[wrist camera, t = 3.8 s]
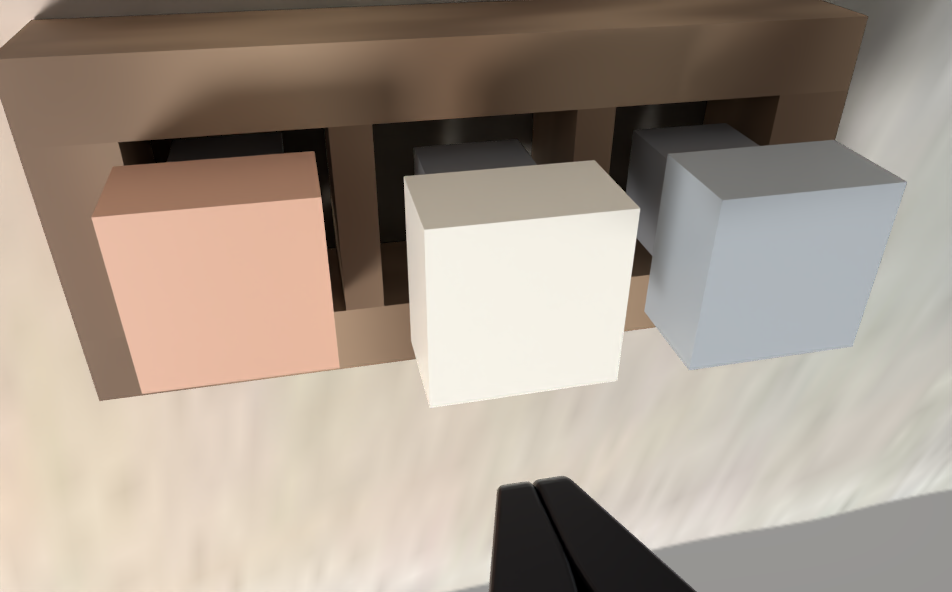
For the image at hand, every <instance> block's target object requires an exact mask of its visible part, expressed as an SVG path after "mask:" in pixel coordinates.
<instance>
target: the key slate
mask: <svg viewBox="0 0 952 592" xmlns="http://www.w3.org/2000/svg"><path fill="white" fill-rule="evenodd" d="M906 184H907V182H906V181H905V180H903V179H901V178H899V177H898V176H896V175H894V174H893V173H891V172H889V171H887V170H886V169H884V168H882V167H880V166H879V165H877V164H875V163H873V162H872V161H870V160H868V159H867V158H865V157H863V156H861V155H860V154H858V153H856V152H854V151H853V150H851V149H849V148H848V147H846V146H844V145H842V144H841V143H839V142H837V141H835V140H825V141H814V142H802V143H790V144H778V145H766V146H759V145H758V144H756V143H755V142H753V141H752V140H750V139H749V138H747V137H746V136H745V135H743V134H742V133H740V132H739V131H737V130H736V129H734V128H733V127H731V126H730V125H728V124H727V123H719V124H706V125H693V126H681V127H668V128H655V129H642V130H633V137H632V146H631V154H630V162H629V170H628V178H627V187H626V194H627V195H628V196H629V197H630V198H631V199H632V200H633V201H634V202H635V203H636V204H637V205H638V206H639V208H640V215H639V222H638V229H637V237H636V238H637V239H638V240H639V241H640V243H641V244H642V245H643V246H644V247H645V248H646V249H647V251H648V252H649V253H650V254H651V255H652V263H651V270H650V276H649V283H648V290H647V296H646V303H645V310H644V312H645V313H646V314H647V316H648V317H649V318H650V320H651V321H652V322H653V324H654V325H655V326H656V327H657V329H658V330H659V331H660V333H661V334H662V335H663V337H664V338H665V339H666V341H667V342H668V343H669V345H670V346H671V347H672V349H673V350H674V351H675V352H676V354H677V355H678V356H679V358H680V359H681V360H682V362H683V363H684V364H685V366H686V367H687V368H688V370H694V369H701V368H708V367H715V366H722V365H728V364H735V363H742V362H749V361H756V360H763V359H770V358H776V357H783V356H790V355H797V354H804V353H811V352H818V351H824V350H831V349H838V348H845V347H852V346H853V343H854V340H855V337H856V334H857V331H858V328H859V325H860V322H861V319H862V316H863V313H864V310H865V307H866V304H867V301H868V298H869V295H870V292H871V289H872V286H873V283H874V280H875V277H876V274H877V271H878V268H879V265H880V262H881V259H882V256H883V253H884V250H885V247H886V244H887V241H888V238H889V235H890V232H891V229H892V226H893V223H894V220H895V217H896V214H897V211H898V208H899V205H900V202H901V199H902V196H903V193H904V190H905V187H906Z"/></svg>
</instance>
